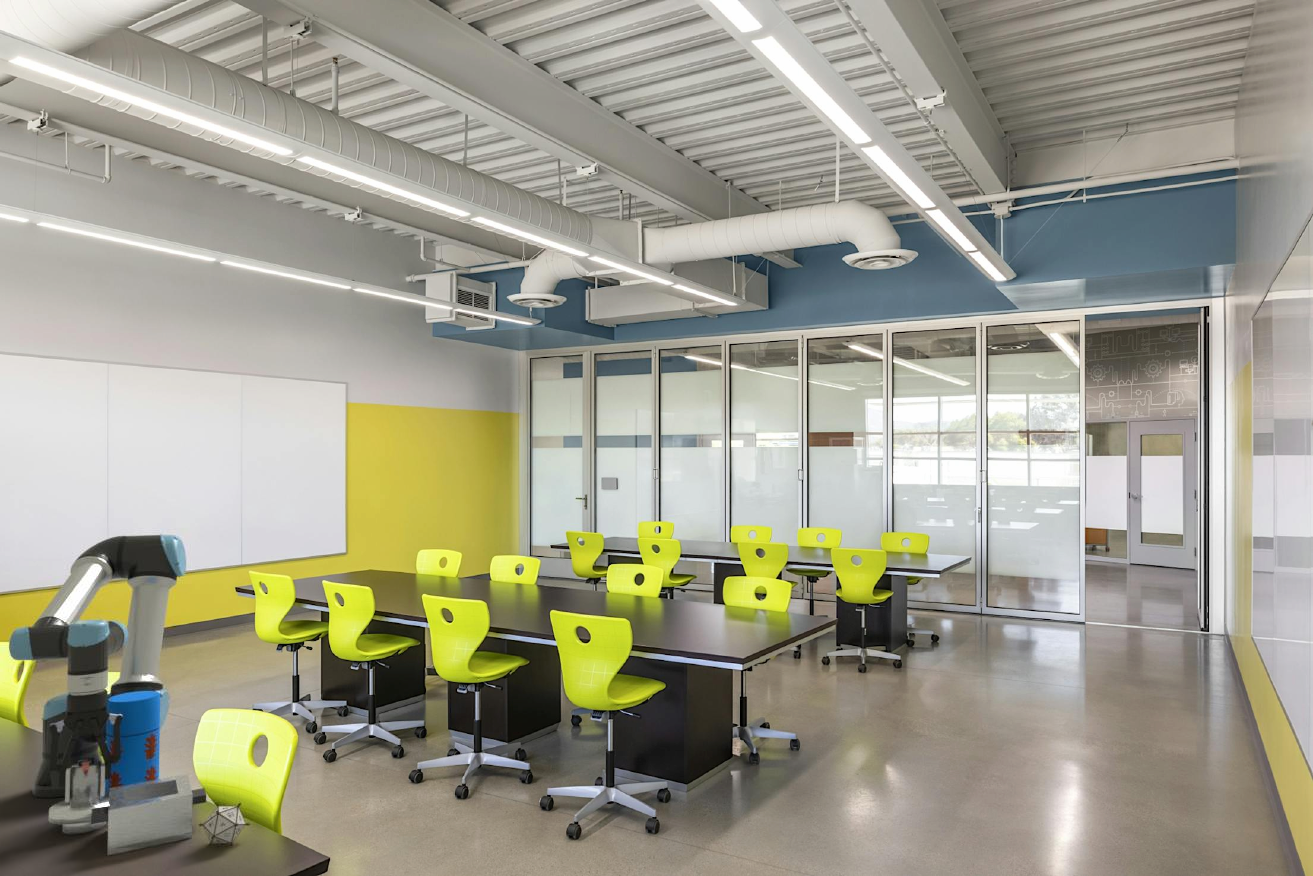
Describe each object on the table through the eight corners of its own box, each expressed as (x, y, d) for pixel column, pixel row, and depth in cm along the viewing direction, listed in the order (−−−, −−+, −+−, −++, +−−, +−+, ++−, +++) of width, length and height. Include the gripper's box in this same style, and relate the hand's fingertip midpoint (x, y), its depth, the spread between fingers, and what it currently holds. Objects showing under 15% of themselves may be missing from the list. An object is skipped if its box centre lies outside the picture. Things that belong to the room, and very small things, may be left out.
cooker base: (92, 833, 180) (92, 791, 181) (202, 811, 192) (202, 771, 192) (89, 859, 168) (90, 813, 168) (207, 834, 179) (208, 791, 180)
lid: (50, 823, 186) (52, 757, 187) (119, 810, 193) (121, 747, 194) (45, 844, 175) (47, 773, 176) (119, 829, 182) (121, 762, 183)
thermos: (132, 813, 191) (134, 703, 192) (93, 810, 193) (95, 701, 194) (169, 796, 202) (171, 691, 203) (131, 793, 204) (133, 689, 205)
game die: (223, 866, 172) (206, 839, 166) (201, 843, 176) (185, 816, 171) (262, 832, 178) (248, 805, 172) (240, 811, 182) (226, 784, 177)
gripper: (33, 701, 178) (31, 812, 176) (137, 688, 188) (135, 793, 186) (36, 694, 184) (34, 801, 183) (136, 682, 194) (134, 783, 193)
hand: (85, 797), depth 185 cm, fingers open, 6 cm apart
